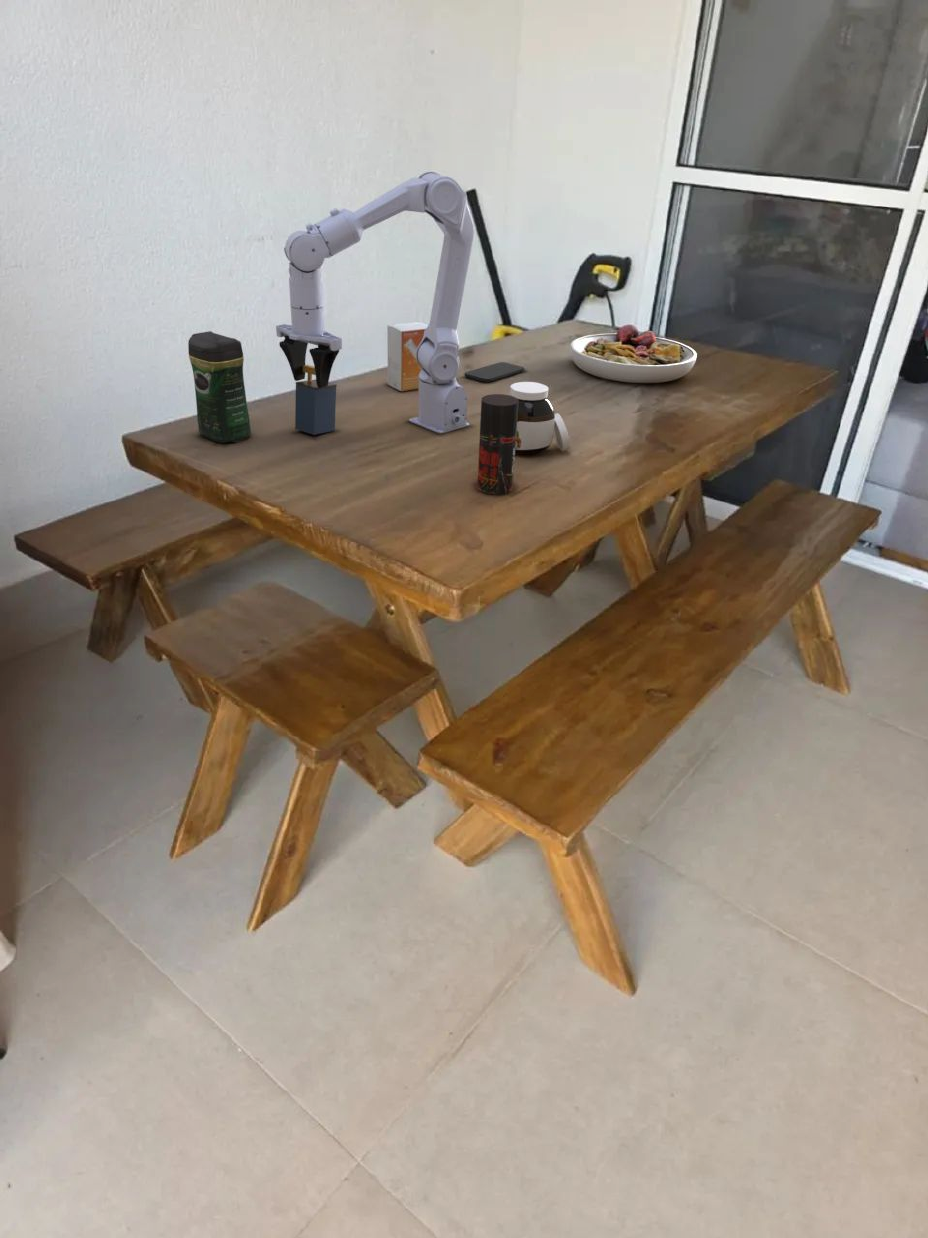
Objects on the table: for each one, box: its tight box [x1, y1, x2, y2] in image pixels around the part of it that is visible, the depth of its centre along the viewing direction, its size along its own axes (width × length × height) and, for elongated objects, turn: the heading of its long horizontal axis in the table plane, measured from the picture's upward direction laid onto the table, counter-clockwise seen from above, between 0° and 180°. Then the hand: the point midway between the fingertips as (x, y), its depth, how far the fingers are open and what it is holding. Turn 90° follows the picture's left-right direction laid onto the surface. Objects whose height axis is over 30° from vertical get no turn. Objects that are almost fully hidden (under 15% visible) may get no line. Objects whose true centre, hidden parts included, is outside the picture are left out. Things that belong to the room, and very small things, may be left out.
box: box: [294, 364, 338, 436], centre depth 160 cm, size 12×6×6 cm
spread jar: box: [509, 381, 571, 457], centre depth 156 cm, size 12×11×12 cm
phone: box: [464, 361, 525, 383], centre depth 200 cm, size 7×1×15 cm
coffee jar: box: [187, 330, 252, 444], centre depth 154 cm, size 10×8×19 cm
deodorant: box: [476, 393, 519, 496], centre depth 139 cm, size 6×6×15 cm
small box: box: [386, 321, 429, 392], centre depth 187 cm, size 8×6×13 cm
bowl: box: [569, 324, 698, 384], centre depth 206 cm, size 30×30×8 cm
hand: (310, 382), depth 158 cm, fingers closed on box, 5 cm apart
